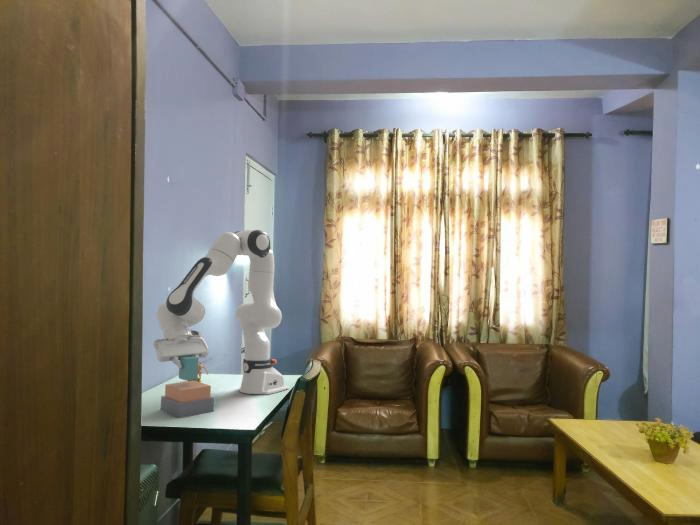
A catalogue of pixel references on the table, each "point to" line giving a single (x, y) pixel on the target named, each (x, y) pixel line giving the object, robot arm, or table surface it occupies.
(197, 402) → the brick tower
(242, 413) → the table surface
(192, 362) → the teal brick
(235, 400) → the table surface
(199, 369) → the figurine
